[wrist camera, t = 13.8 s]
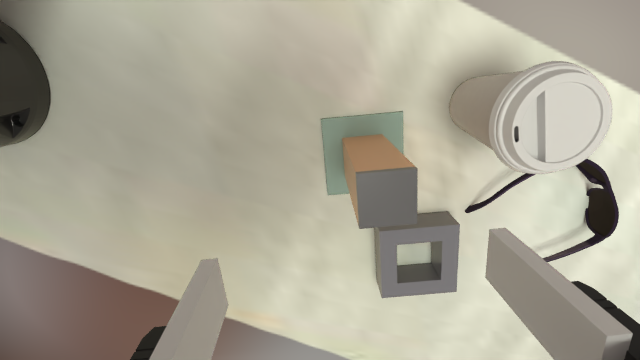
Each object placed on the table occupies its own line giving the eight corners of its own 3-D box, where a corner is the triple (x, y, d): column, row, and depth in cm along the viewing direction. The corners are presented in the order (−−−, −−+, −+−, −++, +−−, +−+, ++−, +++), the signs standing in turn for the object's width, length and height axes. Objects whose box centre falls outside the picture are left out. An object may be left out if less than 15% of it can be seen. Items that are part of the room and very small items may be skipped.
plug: (344, 175, 43) (359, 228, 29) (342, 137, 42) (356, 174, 27) (383, 172, 43) (417, 223, 29) (382, 134, 41) (417, 168, 27)
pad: (327, 194, 44) (327, 195, 44) (321, 119, 41) (321, 119, 41) (403, 187, 44) (403, 188, 44) (402, 111, 41) (402, 111, 41)
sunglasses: (600, 215, 46) (632, 232, 42) (495, 269, 49) (514, 291, 44) (567, 134, 42) (599, 142, 38) (455, 197, 45) (471, 212, 40)
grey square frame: (376, 280, 49) (381, 298, 45) (374, 217, 45) (379, 231, 42) (445, 274, 48) (456, 291, 45) (447, 211, 45) (459, 224, 41)
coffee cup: (449, 56, 39) (526, 50, 25) (526, 70, 40) (645, 72, 25) (427, 136, 42) (485, 171, 28) (499, 148, 43) (592, 188, 28)
